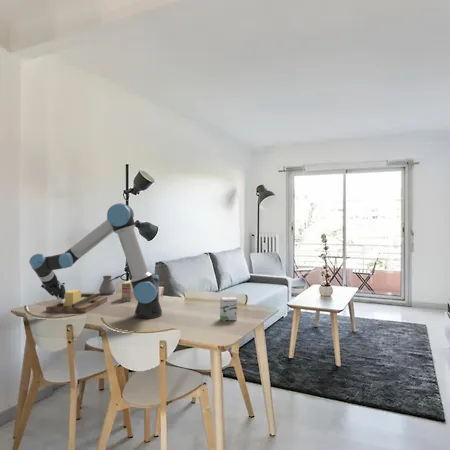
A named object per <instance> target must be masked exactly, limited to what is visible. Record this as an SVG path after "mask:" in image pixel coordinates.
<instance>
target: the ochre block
mask: <svg viewBox="0 0 450 450" xmlns="http://www.w3.org/2000/svg"><path fill="white" fill-rule="evenodd" d="M81 294H82V289H70V290H65V295H64V296H65V297H64V298H65V302H64V303H63V306H72V304H74V303H76V302H78V301H81Z"/></svg>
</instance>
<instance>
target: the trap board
mask: <svg viewBox="0 0 450 450" xmlns="http://www.w3.org/2000/svg"><path fill="white" fill-rule="evenodd" d="M106 302H108V296H98V293H81V301H78V302H76V303H74V304H72V306H63V303H61V302H60V301H57V302H55V303H52V304H50V305H47V306H45V312H46V313H66V314H67V313H68V314H69V313H73V314H76V313H77V314H86V313H88V312H90V311H92V310H94V309H96V308H98V307H99V306H101V305H104V304H105V303H106Z"/></svg>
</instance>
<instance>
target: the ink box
mask: <svg viewBox="0 0 450 450" xmlns="http://www.w3.org/2000/svg"><path fill="white" fill-rule="evenodd" d="M219 306H220V309H219V319H220V321H222V322H227V321H226V320H235V321H238V298H237V297H234V296H229V297H227V296H226V297H223V296H222V297H220V305H219Z"/></svg>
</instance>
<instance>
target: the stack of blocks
mask: <svg viewBox="0 0 450 450" xmlns="http://www.w3.org/2000/svg"><path fill="white" fill-rule="evenodd" d="M132 300H133V301H134V300H136V299H135V297H134V295H133V287H132V284H131V279H129V280H126V281H124V282H122V283H121V302H132Z"/></svg>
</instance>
